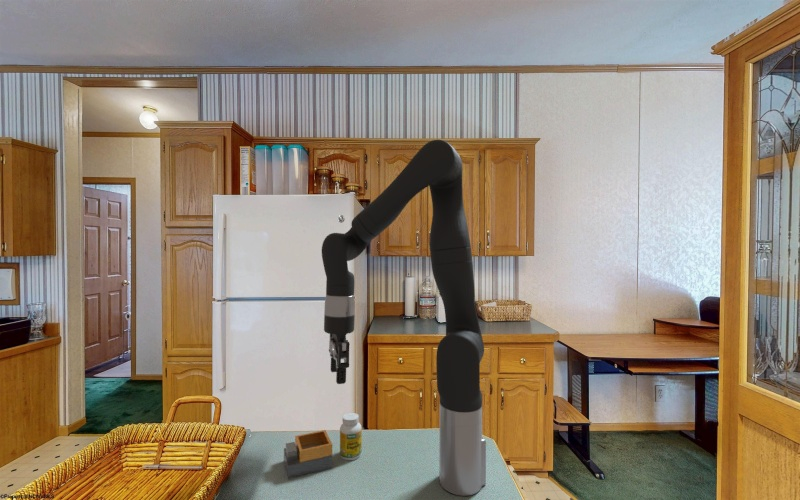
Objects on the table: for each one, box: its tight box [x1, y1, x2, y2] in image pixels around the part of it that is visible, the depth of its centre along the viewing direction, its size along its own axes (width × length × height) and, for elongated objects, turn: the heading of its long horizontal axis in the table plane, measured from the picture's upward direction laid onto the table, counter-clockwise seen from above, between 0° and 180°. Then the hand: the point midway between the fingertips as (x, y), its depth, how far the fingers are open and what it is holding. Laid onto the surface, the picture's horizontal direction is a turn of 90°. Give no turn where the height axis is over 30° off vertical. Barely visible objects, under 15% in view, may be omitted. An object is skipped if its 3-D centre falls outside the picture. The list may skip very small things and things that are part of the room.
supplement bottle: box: [339, 412, 363, 461], centre depth 89 cm, size 5×5×10 cm
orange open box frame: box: [283, 429, 333, 480], centre depth 84 cm, size 10×8×6 cm
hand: (337, 377), depth 89 cm, fingers open, 8 cm apart
